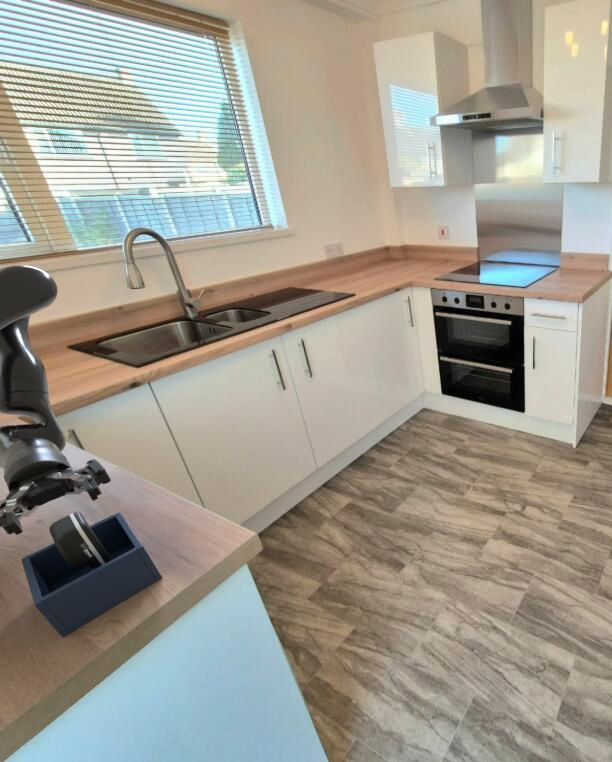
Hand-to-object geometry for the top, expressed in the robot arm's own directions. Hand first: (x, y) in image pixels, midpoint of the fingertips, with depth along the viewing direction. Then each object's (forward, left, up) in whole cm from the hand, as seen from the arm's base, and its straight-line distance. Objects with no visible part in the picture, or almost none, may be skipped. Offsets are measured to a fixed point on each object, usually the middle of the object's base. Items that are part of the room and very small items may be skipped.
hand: (55, 511), depth 64 cm
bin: (0, -6, -12) cm, 13 cm away
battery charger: (0, -6, -11) cm, 13 cm away
